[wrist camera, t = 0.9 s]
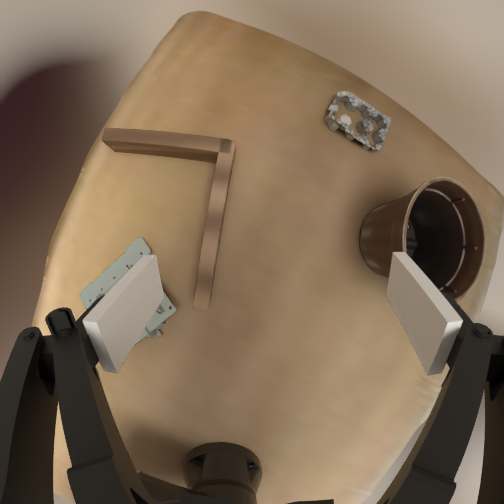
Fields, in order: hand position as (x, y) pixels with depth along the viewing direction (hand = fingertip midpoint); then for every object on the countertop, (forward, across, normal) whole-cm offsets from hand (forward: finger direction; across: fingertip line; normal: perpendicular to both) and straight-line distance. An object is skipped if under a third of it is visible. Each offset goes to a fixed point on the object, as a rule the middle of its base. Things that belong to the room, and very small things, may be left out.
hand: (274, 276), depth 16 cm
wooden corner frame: (+27, +18, +3) cm, 32 cm away
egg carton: (+38, -14, -9) cm, 41 cm away
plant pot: (+31, -19, +10) cm, 38 cm away
